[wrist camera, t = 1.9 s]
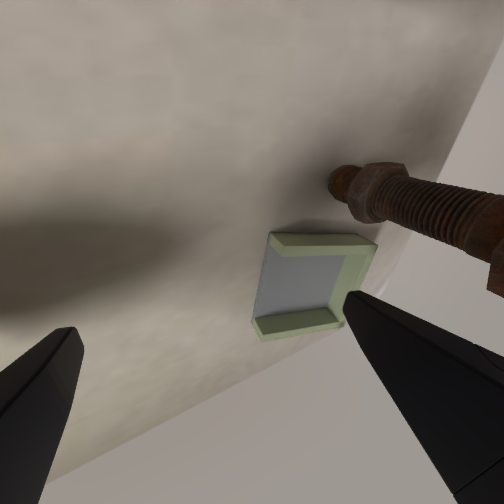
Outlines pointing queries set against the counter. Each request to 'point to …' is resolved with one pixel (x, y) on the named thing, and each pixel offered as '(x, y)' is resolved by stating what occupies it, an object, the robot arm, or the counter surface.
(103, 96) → the counter surface
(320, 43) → the counter surface
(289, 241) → the green square tray
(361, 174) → the bolt
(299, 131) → the counter surface
